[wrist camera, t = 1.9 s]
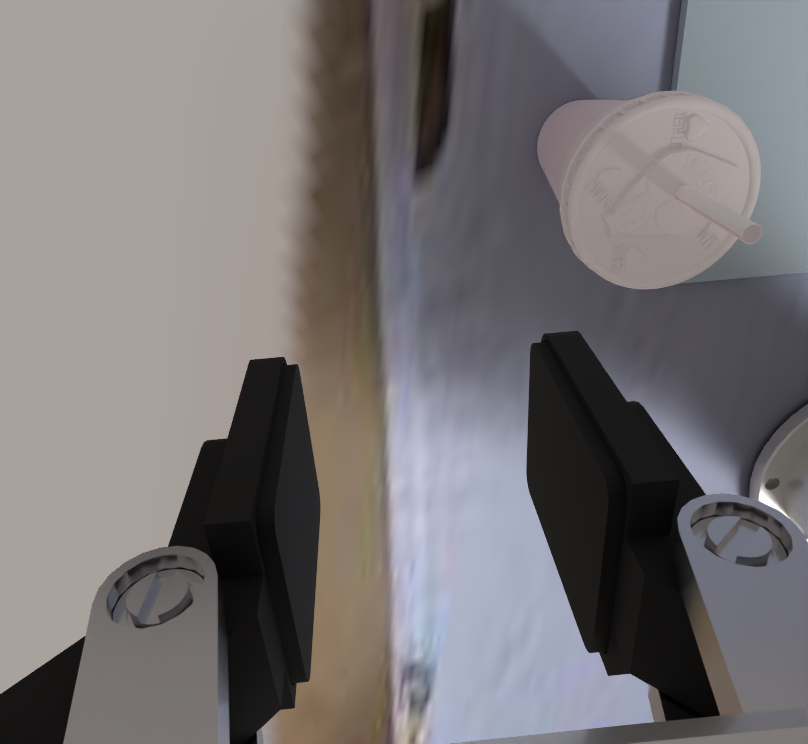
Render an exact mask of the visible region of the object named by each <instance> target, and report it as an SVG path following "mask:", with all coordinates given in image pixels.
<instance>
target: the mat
mask: <svg viewBox="0 0 808 744" xmlns="http://www.w3.org/2000/svg"><path fill="white" fill-rule="evenodd" d="M679 90H682V91H686V92H690V93H694V94H698V95H702V96H706V97H708V98H709V99H711V100H713V101H715V102H718V103H720V104H722V105H724V106H726V107H727V108H729V109H730V110H732V111H733V112H734V113H735V114H736V115H738V116H739V117H740V118H741V120H742V121H743V122H744V123H745V124H746V126H747V127H748V129H749V130H750V132H751V134H752V136H753V138H754V140H755V143H756V145H757V148H758V152H759V157H760V165H761V179H760V188H759V194H758V197H757V201H756V204H755V207H754V210H753V213H752V215H751V217H750V219H749V220H751V221H753V222H755V223H757V224H758V225H760V226H761V227H762V230H763V232H762V236H761V238H760V239H759V240H758V241H757V242H755V243H753V244H746V243H744V242H743V241H741V240H740V239H737V240H736V242H735V243H734V244H733V245H732V247H731V248H730V249H729V250H728V251H727V252H726V253H725V254H724V255H723V256H722V257H721V258H720V259H719V260H718V261H716V262H715V263H714V264H713V265H711V266H710V267H709V268H707V269H706V270H704V271H703V272H701V273H700V274H698V275H696V276H694V277H692V278H690V279H688V280H686V281H684V282H681V283H678V284H683V283H694V282H706V281H717V280H729V279H740V278H752V277H763V276H775V275H786V274H797V273H808V0H682V3H681V11H680V19H679V27H678V35H677V43H676V51H675V60H674V68H673V76H672V84H671V91H679Z"/></svg>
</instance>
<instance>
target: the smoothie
mask: <svg viewBox="0 0 808 744" xmlns="http://www.w3.org/2000/svg"><path fill="white" fill-rule="evenodd" d="M537 155H538V160H539V163H540V165H541V167H542V169H543V171H544V173H545V175H546V177H547V179H548V182H549V184H550V186H551V188H552V190H553V192H554V194H555V196H556V198H557V200H558V202H559V204H560V216H561V221H562V226H563V231H564V235H565V237H566V239H567V241H568V243H569V244H570V246H571V248H572V250H573V252H574V254H575V255H576V256H577V257H578V258H579V259H580V260H581V261H582V262H583V263H584V264H585V265H586V266H587V267H588V268H589V269H591V270H593V271H594V272H595V273H596V274H598V275H599V276H601V277H602V278H603V279H605V280H607V281H609V282H611V283H614V284H616V285H619V286H622V287H626V288H632V289H658V288H664V287H669V286H672V285H675V284H678V283H681V282H684V281H686V280H688V279H690V278H692V277H694V276H696V275H698V274H700V273H701V272H703V271H704V270H706V269H707V268H709V267H710V266H711V265H713V264H714V263H715V262H716V261H718V260H719V259H720V258H721V257H722V256H723V255H724V254H725V253H726V252H727V251H728V250H729V249H730V248H731V247H732V245H733V244H734V243H735V242H736V240H737V239H740V240H741V241H743V242H744V243H746V244H753V243H755V242H757V241H758V240H759V239H760V238H761V236H762V232H763V230H762V227H761V226H760V225H758V224H757V223H755V222H753V221H751V220H749V219H750V217H751V215H752V213H753V210H754V207H755V204H756V201H757V197H758V194H759V188H760V179H761V165H760V157H759V152H758V148H757V145H756V143H755V140H754V138H753V136H752V134H751V132H750V130H749V129H748V127H747V126H746V124H745V123H744V122H743V121H742V120H741V118H740V117H739V116H738V115H736V114H735V113H734V112H733V111H732V110H730V109H729V108H727V107H726V106H724V105H722V104H720V103H718V102H715V101H713V100H711V99H709V98H708V97H706V96H702V95H698V94H694V93H690V92H686V91H682V90H679V91H661V92H653V93H650V94H647V95H644V96H641V97H638V98H635V99H632V100H575V101H571V102H568V103H566V104H564V105H562V106H560V107H559V108H557V109H556V110H555V111H554V112H553V113H552V114H551V115H550V116H549V117H548V118H547V120H546V121H545V123H544V124H543V126H542V128H541V130H540V133H539V136H538V141H537Z"/></svg>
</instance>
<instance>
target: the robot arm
mask: <svg viewBox="0 0 808 744" xmlns="http://www.w3.org/2000/svg"><path fill="white" fill-rule="evenodd" d="M527 483H528V488H529V492H530V495H531V498H532V500H533V503H534V506H535V509H536V512H537V514H538V517H539V520H540V523H541V526H542V528H543V531H544V534H545V537H546V539H547V542H548V545H549V548H550V551H551V553H552V556H553V559H554V562H555V565H556V567H557V570H558V573H559V576H560V578H561V581H562V584H563V587H564V590H565V592H566V595H567V598H568V601H569V604H570V606H571V609H572V612H573V615H574V617H575V620H576V623H577V626H578V629H579V631H580V634H581V637H582V640H583V642H584V645H585V647H586V649H587V651H588V652H589V653H594V652H599V653H600V656H601V658H602V661H603V663H604V666H605V669H606V671H607V674H608V676H611V675H621V674H632V675H633V676H635V677H637V678H639V679H640V680H642V681H644V682H646V683H647V684H648V697H649V701H650V705H651V710H652V714H653V719H654V722H653V723H643V724H633V725H623V726H614V727H604V728H594V729H585V730H575V731H566V732H556V733H547V734H537V735H527V736H518V737H508V738H499V739H489V740H480V741H470V742H461V743H452V744H808V404H807V405H805V406H804V407H803V408H801V409H800V410H799V411H797V412H796V413H795V414H793V415H792V416H791V417H790V418H789V419H788V420H787V421H786V422H785V423H784V424H783V425H782V426H781V427H780V428H779V429H778V430H776V432H775V433H774V434H773V436H772V437H771V438H770V440H769V441H768V442H767V444H766V445H765V446H764V448H763V450H762V451H761V453H760V455H759V457H758V459H757V461H756V463H755V466H754V469H753V472H752V476H751V479H750V491H749V496H750V498H747V497H743V496H739V495H730V494H712V495H706V494H705V493H704V491H703V490H702V489H701V487H700V486H699V484H698V483H697V482H696V480H695V479H694V477H693V476H692V475H691V473H690V472H689V470H688V469H687V468H686V466H685V465H684V463H683V462H682V460H681V459H680V458H679V456H678V455H677V453H676V452H675V451H674V449H673V448H672V446H671V445H670V444H669V442H668V441H667V439H666V438H665V437H664V435H663V434H662V432H661V431H660V430H659V428H658V427H657V425H656V424H655V423H654V421H653V420H652V418H651V417H650V416H649V414H648V413H647V411H646V410H645V409H644V407H643V406H642V405H641V404H640V403H639V402H635V401H631V402H627V401H626V400H625V398H624V397H623V396H622V394H621V393H620V391H619V390H618V388H617V387H616V385H615V384H614V382H613V381H612V379H611V378H610V376H609V375H608V373H607V372H606V371H605V369H604V368H603V366H602V365H601V363H600V362H599V360H598V359H597V357H596V356H595V354H594V353H593V351H592V350H591V349H590V347H589V346H588V344H587V343H586V341H585V340H584V338H583V337H582V335H581V334H580V333H579V332H578V331H570V332H559V333H548V334H544V335H543V336H542V340H541V343H532V345H531V351H530V378H529V409H528V440H527ZM319 525H320V494H319V487H318V481H317V475H316V469H315V463H314V456H313V450H312V444H311V438H310V432H309V426H308V420H307V413H306V407H305V401H304V395H303V389H302V383H301V377H300V371H299V367H298V365H297V364H294V365H287V363H286V360H285V358H284V357H277V358H267V359H255V360H250V362H249V364H248V368H247V371H246V375H245V379H244V382H243V385H242V390H241V393H240V396H239V400H238V403H237V407H236V410H235V414H234V417H233V421H232V425H231V428H230V431H229V435H228V438H227V439H217V440H207V441H205V442H204V443H203V445H202V447H201V450H200V453H199V456H198V459H197V462H196V465H195V468H194V471H193V474H192V477H191V480H190V484H189V486H188V489H187V492H186V495H185V498H184V501H183V504H182V507H181V510H180V513H179V516H178V519H177V521H176V524H175V528H174V530H173V534H172V537H171V539H170V542H169V545H168V547H163V548H158V549H154V550H151V551H148V552H145V553H142V554H140V555H138V556H136V557H134V558H133V559H131V560H129V561H127V562H125V563H124V564H123V565H121V566H120V567H119V568H117V569H116V570H115V571H114V572H112V573H111V574H110V575H109V576H108V578H107V579H106V580H105V581H104V583H103V584H102V585H101V586H100V588H99V589H98V591H97V594H96V596H95V599H94V601H93V604H92V609H91V613H90V618H89V623H88V628H87V633H86V636H85V637H83V638H82V639H80V640H79V641H77V642H76V643H74V644H73V645H71V646H70V647H69V648H67V649H66V650H64V651H63V652H61V653H60V654H58V655H57V656H55V657H54V658H53V659H51V660H50V661H48V662H47V663H45V664H44V665H42V666H41V667H40V668H38V669H36V670H35V671H34V672H32V673H31V674H29V675H28V676H26V677H25V678H23V679H22V680H20V681H19V682H18V683H16V684H15V685H13V686H12V687H10V688H9V689H7V690H6V691H4V692H3V693H2V694H0V744H263V735H262V731H261V727H263V726H264V725H265V724H266V723H267V722H268V721H269V720H270V719H271V718H272V717H273V716H274V715H275V714H276V713H277V712H278V711H279V710H281V709H291V708H295V695H296V683H300V682H308V681H309V679H310V670H311V654H312V638H313V622H314V606H315V590H316V574H317V557H318V541H319Z"/></svg>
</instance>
